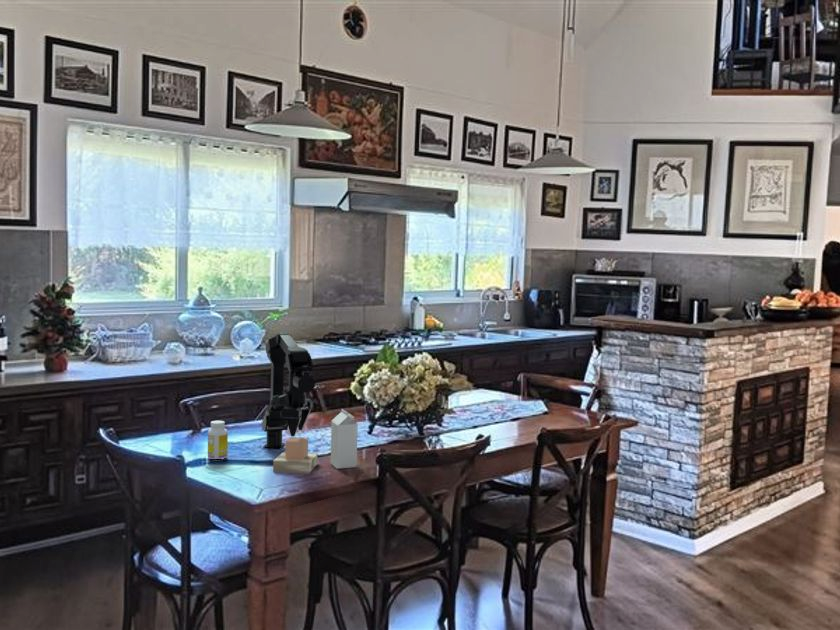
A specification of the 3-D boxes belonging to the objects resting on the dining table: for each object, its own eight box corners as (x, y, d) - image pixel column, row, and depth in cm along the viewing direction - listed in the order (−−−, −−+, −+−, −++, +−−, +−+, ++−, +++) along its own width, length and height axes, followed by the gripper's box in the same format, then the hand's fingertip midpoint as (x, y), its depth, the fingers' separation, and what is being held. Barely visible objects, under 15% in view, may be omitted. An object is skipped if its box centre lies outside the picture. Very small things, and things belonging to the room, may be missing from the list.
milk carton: (336, 469, 273) (338, 413, 271) (330, 463, 280) (331, 409, 278) (356, 467, 276) (358, 412, 274) (350, 461, 282) (351, 408, 281)
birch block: (283, 462, 280) (283, 451, 280) (317, 465, 279) (317, 453, 279) (273, 472, 269) (273, 460, 268) (308, 475, 267) (308, 463, 267)
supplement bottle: (229, 455, 285) (229, 419, 283) (225, 461, 278) (225, 424, 277) (209, 455, 284) (210, 419, 283) (205, 460, 278) (205, 423, 277)
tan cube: (290, 454, 277) (290, 436, 276) (307, 455, 276) (308, 438, 275) (285, 458, 271) (285, 441, 270) (302, 460, 270) (303, 442, 270)
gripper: (282, 381, 281) (281, 425, 283) (265, 391, 263) (264, 438, 264) (313, 382, 280) (312, 427, 281) (298, 392, 261) (297, 440, 263)
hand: (296, 433), depth 273 cm, fingers open, 9 cm apart
